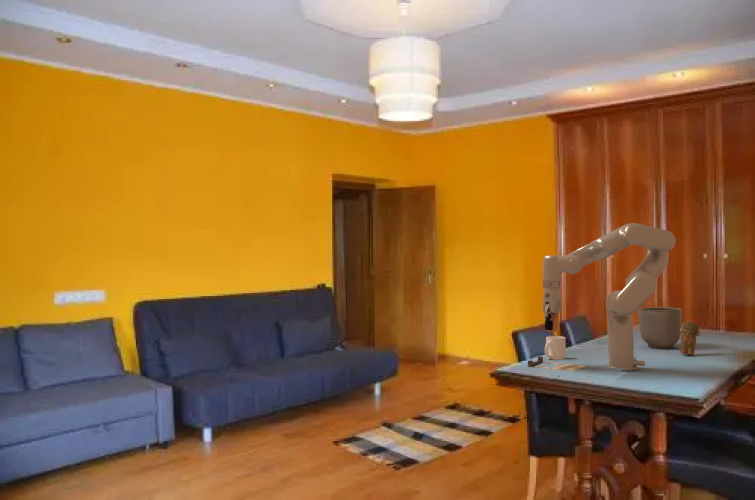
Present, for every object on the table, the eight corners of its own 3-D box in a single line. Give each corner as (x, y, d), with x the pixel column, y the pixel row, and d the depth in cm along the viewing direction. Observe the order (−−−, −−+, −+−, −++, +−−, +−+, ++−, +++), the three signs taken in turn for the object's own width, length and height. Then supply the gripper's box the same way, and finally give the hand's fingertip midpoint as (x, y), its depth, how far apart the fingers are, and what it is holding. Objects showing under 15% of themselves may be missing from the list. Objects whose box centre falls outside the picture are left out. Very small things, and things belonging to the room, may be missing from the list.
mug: (553, 363, 265) (552, 339, 265) (537, 361, 271) (536, 338, 271) (569, 360, 272) (569, 337, 272) (554, 358, 279) (553, 335, 279)
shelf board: (586, 368, 251) (586, 359, 251) (576, 374, 241) (575, 364, 241) (539, 364, 263) (539, 356, 263) (527, 369, 253) (527, 360, 253)
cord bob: (558, 331, 254) (558, 314, 254) (554, 332, 251) (554, 314, 251) (547, 330, 257) (547, 313, 257) (543, 331, 253) (544, 314, 253)
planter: (690, 350, 291) (689, 309, 292) (649, 351, 292) (647, 310, 292) (671, 344, 311) (670, 306, 311) (632, 345, 311) (631, 307, 312)
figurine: (680, 356, 275) (679, 322, 276) (679, 353, 283) (678, 320, 283) (702, 356, 272) (700, 323, 272) (700, 354, 280) (698, 321, 280)
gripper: (553, 286, 245) (553, 332, 245) (567, 285, 259) (566, 328, 258) (535, 285, 249) (534, 330, 249) (550, 284, 263) (549, 327, 263)
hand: (551, 329), depth 254 cm, fingers closed on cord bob, 4 cm apart
